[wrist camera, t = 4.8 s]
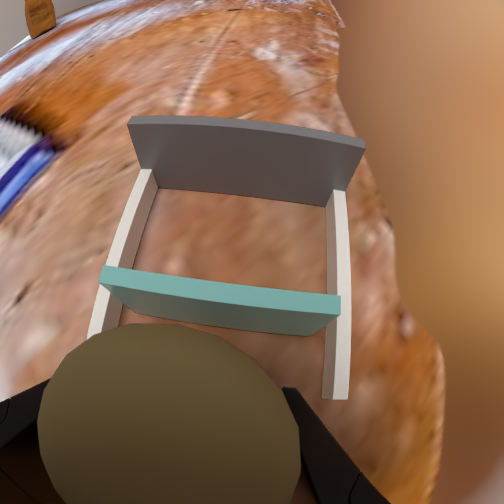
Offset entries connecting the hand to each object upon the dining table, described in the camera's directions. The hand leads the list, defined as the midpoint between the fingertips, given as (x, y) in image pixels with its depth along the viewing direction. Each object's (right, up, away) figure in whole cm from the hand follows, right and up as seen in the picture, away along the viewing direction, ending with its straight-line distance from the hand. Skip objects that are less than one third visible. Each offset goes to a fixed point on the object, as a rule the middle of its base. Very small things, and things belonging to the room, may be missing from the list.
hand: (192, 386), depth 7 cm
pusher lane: (0, +2, +9) cm, 9 cm away
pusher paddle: (0, 0, +8) cm, 8 cm away
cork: (-1, -4, +5) cm, 7 cm away
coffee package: (-64, +73, +41) cm, 105 cm away
